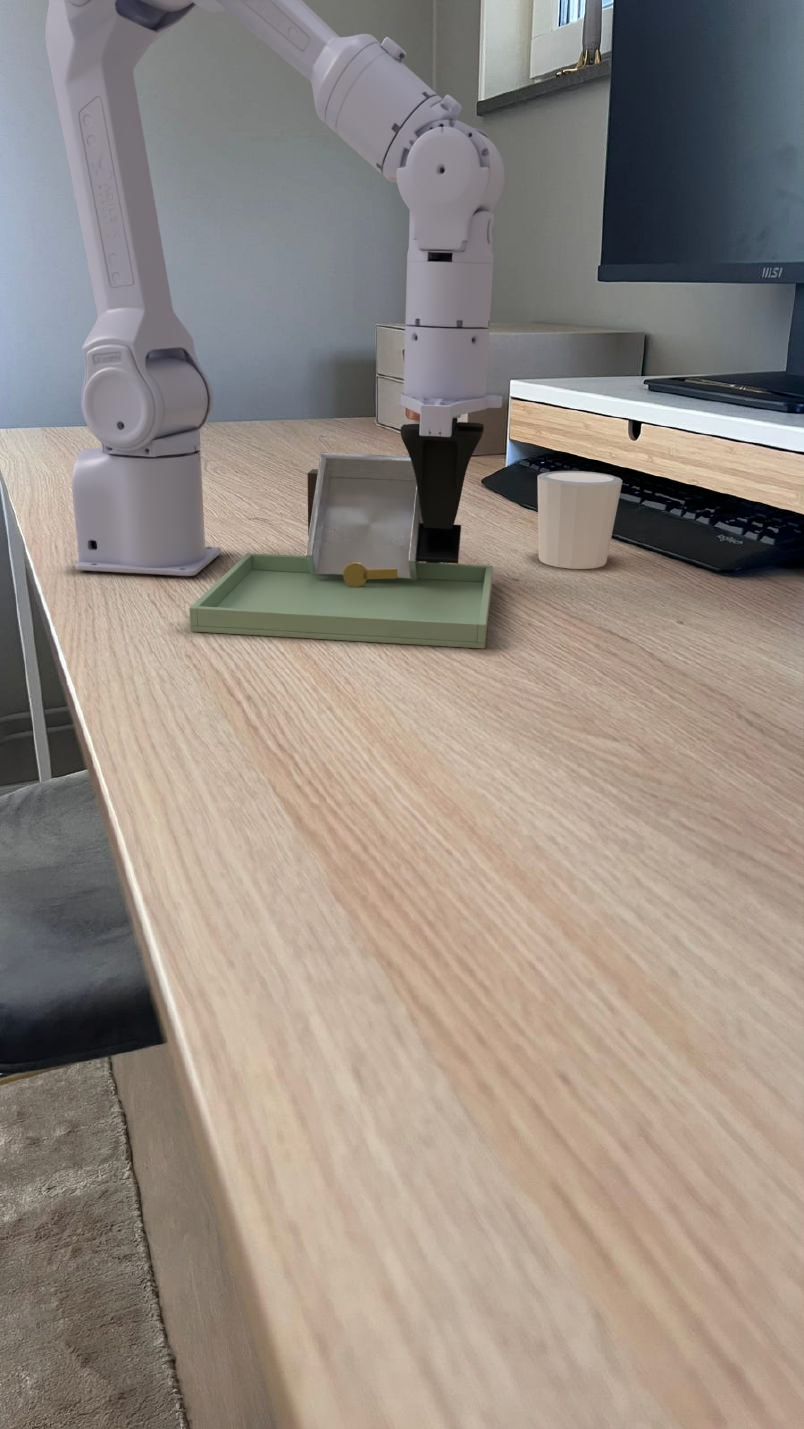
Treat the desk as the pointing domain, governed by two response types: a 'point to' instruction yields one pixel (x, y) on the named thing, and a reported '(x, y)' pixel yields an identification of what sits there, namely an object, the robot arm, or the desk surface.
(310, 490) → the stand
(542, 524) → the white cup
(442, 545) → the rectangular metal pan
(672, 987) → the desk surface
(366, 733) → the desk surface
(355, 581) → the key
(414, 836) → the desk surface
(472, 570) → the tray
